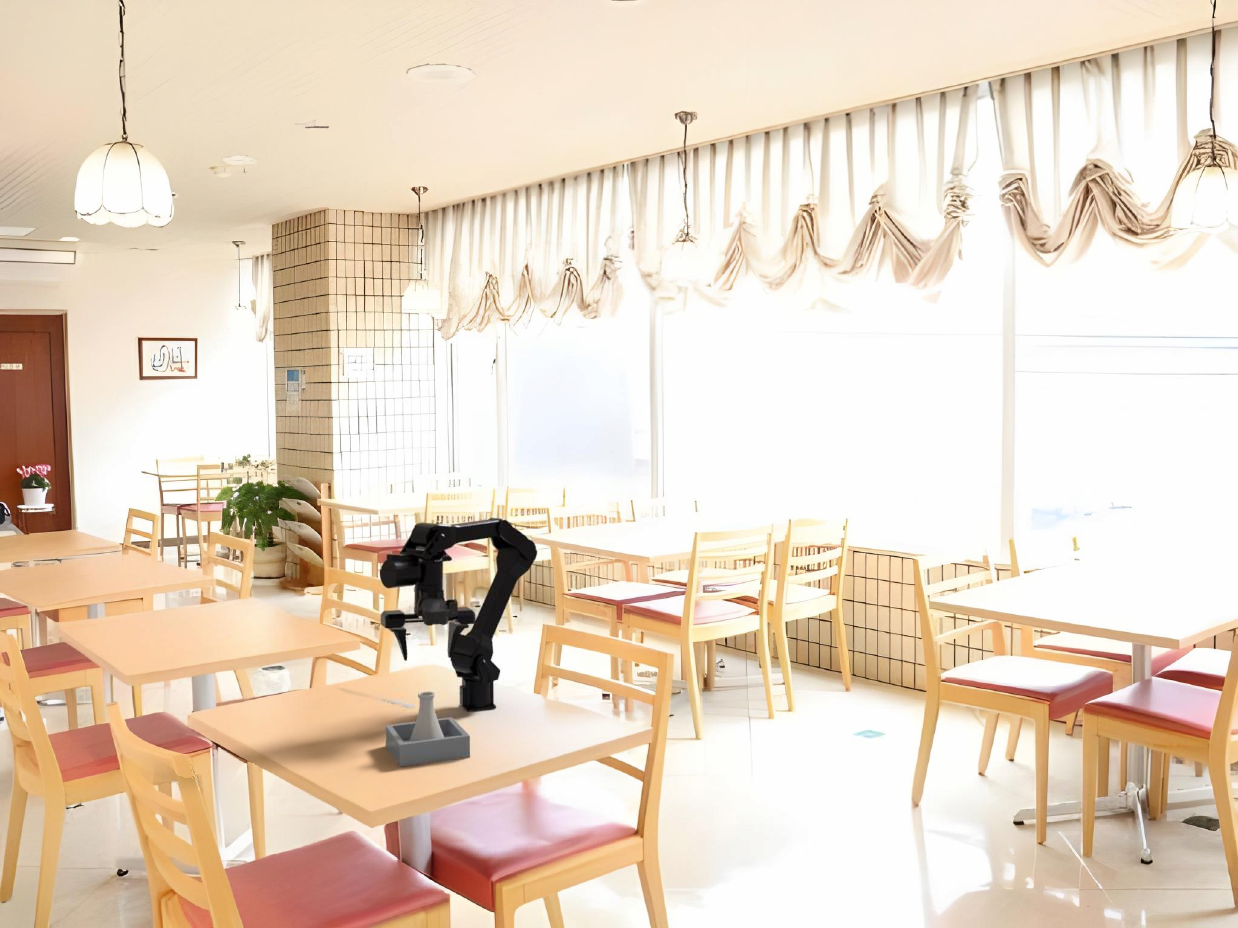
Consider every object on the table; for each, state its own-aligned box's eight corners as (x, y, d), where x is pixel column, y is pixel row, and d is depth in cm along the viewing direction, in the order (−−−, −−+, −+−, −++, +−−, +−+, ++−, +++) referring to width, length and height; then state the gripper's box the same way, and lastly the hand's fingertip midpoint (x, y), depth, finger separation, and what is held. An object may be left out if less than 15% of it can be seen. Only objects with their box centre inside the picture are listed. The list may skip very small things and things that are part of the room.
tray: (452, 736, 207) (452, 717, 207) (470, 756, 195) (469, 735, 195) (386, 745, 202) (385, 725, 201) (400, 766, 190) (399, 744, 189)
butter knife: (406, 708, 226) (417, 704, 229) (330, 689, 243) (341, 685, 245) (406, 711, 226) (417, 707, 229) (330, 691, 243) (341, 688, 245)
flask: (440, 737, 203) (439, 686, 203) (451, 748, 197) (450, 695, 196) (403, 742, 200) (402, 691, 200) (413, 753, 194) (412, 700, 193)
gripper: (391, 591, 206) (390, 670, 206) (483, 587, 213) (482, 663, 214) (380, 583, 216) (379, 658, 216) (468, 580, 223) (467, 653, 224)
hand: (427, 658), depth 217 cm, fingers open, 9 cm apart
